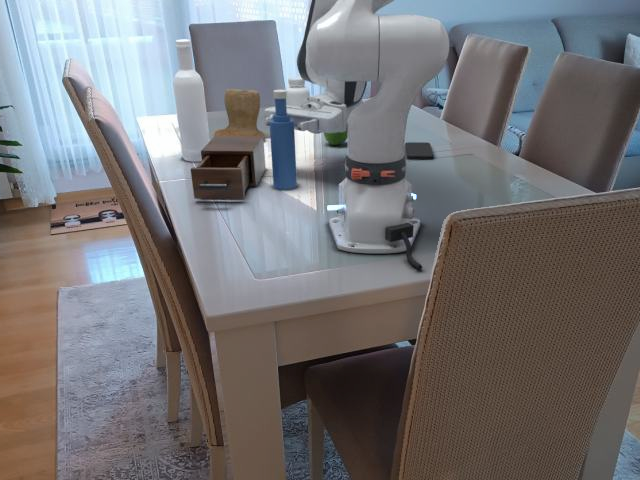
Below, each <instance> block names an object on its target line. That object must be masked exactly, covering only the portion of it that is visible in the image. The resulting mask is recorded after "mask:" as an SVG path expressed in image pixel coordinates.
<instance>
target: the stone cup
mask: <svg viewBox="0 0 640 480" xmlns="http://www.w3.org/2000/svg"><path fill="white" fill-rule="evenodd" d="M224 92H225V93H224V100H223V101H224V107H225V111H226V115H227V118H228V125H227V126H226V127H225V128H221V129H216V130H215V131H214V132H213V137H214V136H263V139H264V138H265V137H266V134H265V133H264V132H263V131H261V130H259V129H258V118H259V115H260V110H261V97H260V93H259V91H257V90H253V89H234V88H227V89H225V91H224Z"/></svg>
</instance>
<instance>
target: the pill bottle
mask: <svg viewBox="0 0 640 480" xmlns="http://www.w3.org/2000/svg"><path fill="white" fill-rule="evenodd" d="M287 81H288V83H287V84H288V87H287V88H285V90H286V91H287V98H286V105H288V106H296V107H301V104H302V102H303V101H304V100H305V99H306V98H308V97H311V93H310V89H309V88H308V87H307V86H306V81H305V80H303V79H302V78H301V76H295V77H294V76H293V77H289V78H288V79H287ZM294 130H298V129H297V128H294Z"/></svg>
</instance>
